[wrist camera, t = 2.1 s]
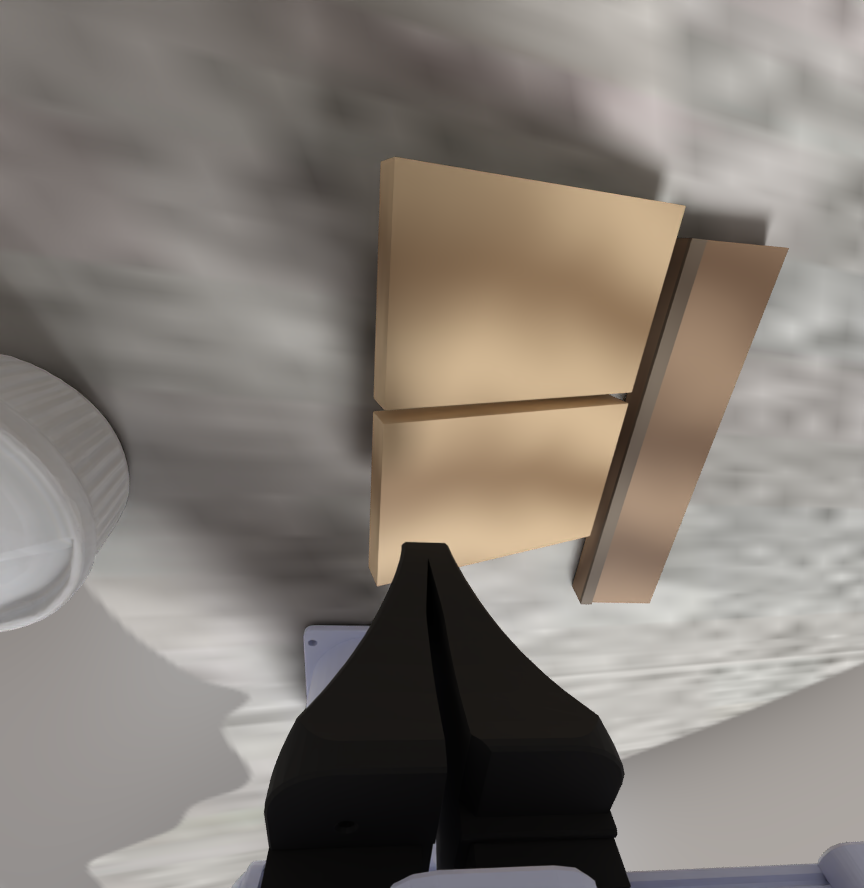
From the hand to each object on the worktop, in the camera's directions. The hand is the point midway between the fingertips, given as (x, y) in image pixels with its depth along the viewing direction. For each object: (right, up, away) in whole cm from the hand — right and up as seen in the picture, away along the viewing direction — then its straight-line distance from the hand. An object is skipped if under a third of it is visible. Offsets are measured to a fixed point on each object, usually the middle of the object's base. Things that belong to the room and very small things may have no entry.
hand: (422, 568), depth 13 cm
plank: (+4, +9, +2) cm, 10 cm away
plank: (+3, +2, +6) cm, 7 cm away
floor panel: (+11, +4, +8) cm, 14 cm away
